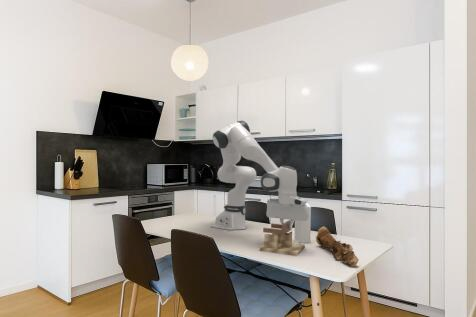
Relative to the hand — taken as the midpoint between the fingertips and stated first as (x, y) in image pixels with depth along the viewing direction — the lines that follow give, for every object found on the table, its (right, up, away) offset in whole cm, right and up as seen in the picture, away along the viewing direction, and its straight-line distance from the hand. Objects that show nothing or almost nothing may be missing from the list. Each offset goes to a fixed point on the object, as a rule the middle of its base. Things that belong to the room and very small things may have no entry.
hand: (286, 228), depth 157 cm
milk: (+11, -11, +17) cm, 23 cm away
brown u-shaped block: (-4, -2, +2) cm, 5 cm away
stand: (-2, -10, +1) cm, 10 cm away
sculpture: (+21, -11, -8) cm, 25 cm away
